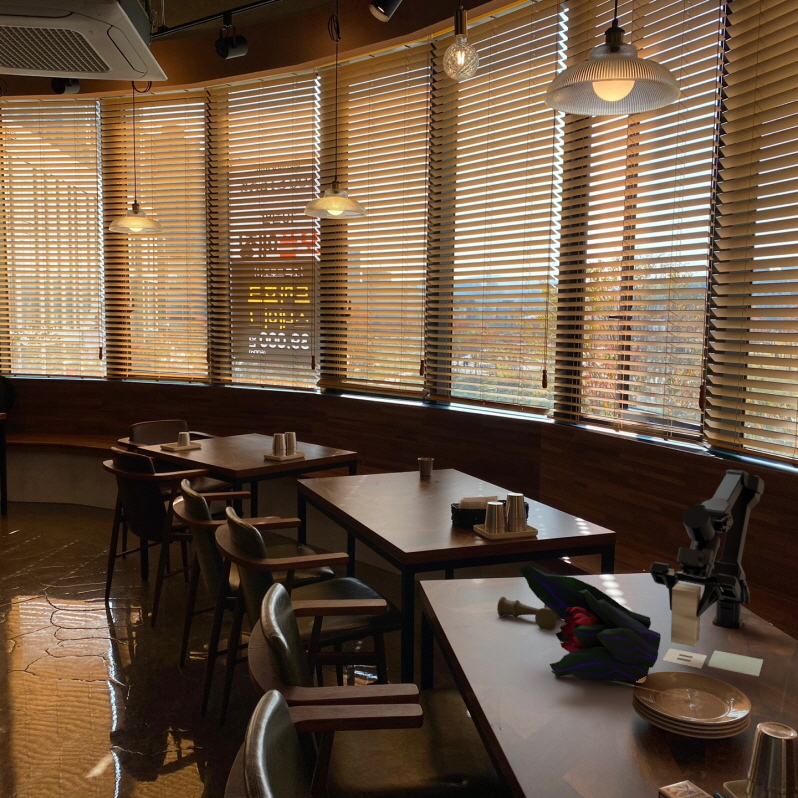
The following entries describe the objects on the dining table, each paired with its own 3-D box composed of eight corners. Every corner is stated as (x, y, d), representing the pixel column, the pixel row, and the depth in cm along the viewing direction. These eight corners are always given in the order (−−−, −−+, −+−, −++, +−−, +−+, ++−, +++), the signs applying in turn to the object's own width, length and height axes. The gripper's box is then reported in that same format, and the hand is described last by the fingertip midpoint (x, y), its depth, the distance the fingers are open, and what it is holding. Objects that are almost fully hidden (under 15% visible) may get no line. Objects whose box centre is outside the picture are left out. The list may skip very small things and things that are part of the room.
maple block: (675, 634, 169) (677, 582, 168) (699, 639, 166) (700, 586, 165) (670, 642, 165) (672, 588, 164) (694, 646, 162) (696, 592, 161)
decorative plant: (635, 737, 150) (490, 687, 153) (632, 644, 172) (506, 602, 176) (673, 667, 139) (517, 615, 143) (665, 577, 162) (530, 535, 166)
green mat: (714, 652, 170) (714, 650, 170) (763, 661, 165) (763, 659, 165) (707, 667, 161) (707, 665, 161) (758, 677, 156) (758, 676, 156)
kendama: (505, 611, 198) (581, 622, 188) (492, 623, 189) (571, 635, 180) (505, 589, 197) (580, 599, 188) (492, 600, 189) (570, 611, 179)
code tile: (669, 649, 171) (669, 648, 171) (707, 657, 167) (707, 655, 167) (662, 661, 164) (662, 660, 164) (701, 669, 160) (701, 668, 160)
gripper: (653, 526, 173) (633, 584, 165) (738, 540, 161) (721, 603, 153) (665, 553, 180) (646, 610, 172) (747, 568, 168) (731, 630, 160)
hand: (684, 612), depth 164 cm, fingers closed on maple block, 5 cm apart
